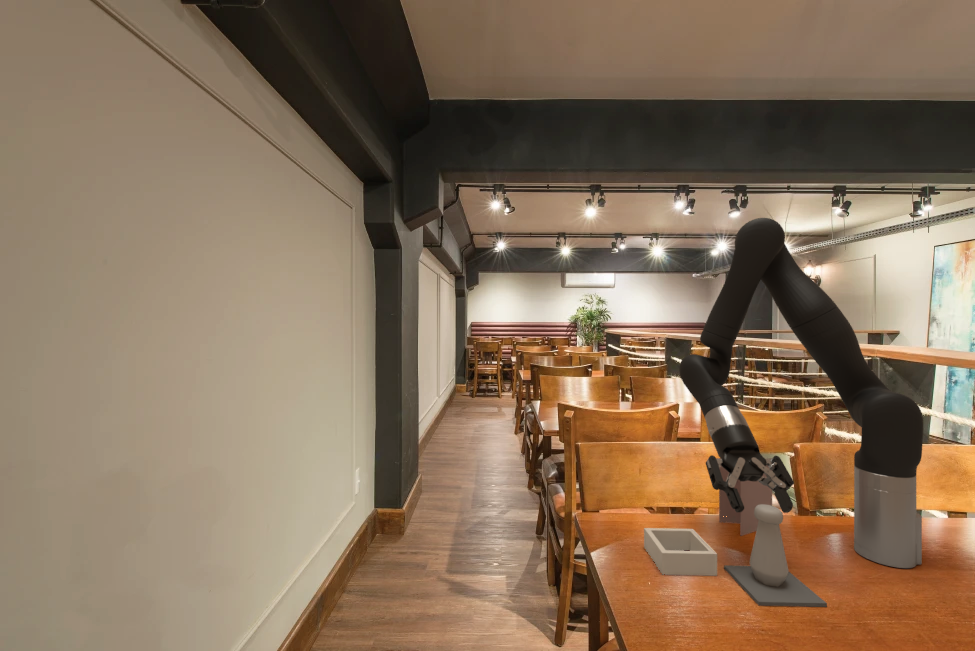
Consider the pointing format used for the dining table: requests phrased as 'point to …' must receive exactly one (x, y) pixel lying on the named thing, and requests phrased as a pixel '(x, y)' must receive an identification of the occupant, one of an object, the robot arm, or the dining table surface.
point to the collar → (680, 552)
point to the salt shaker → (768, 547)
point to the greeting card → (744, 503)
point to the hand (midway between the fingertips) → (764, 511)
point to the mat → (775, 589)
